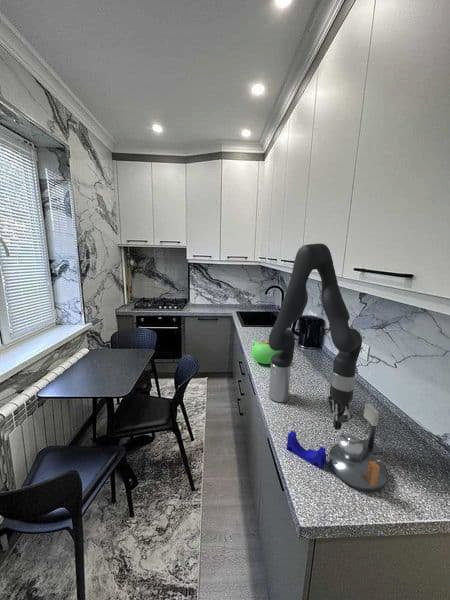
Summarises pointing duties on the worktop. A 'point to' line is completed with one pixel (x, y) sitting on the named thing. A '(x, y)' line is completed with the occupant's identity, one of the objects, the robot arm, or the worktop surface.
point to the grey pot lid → (359, 470)
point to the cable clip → (308, 455)
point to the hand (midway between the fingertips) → (336, 428)
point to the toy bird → (262, 352)
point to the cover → (350, 447)
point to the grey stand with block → (372, 417)
